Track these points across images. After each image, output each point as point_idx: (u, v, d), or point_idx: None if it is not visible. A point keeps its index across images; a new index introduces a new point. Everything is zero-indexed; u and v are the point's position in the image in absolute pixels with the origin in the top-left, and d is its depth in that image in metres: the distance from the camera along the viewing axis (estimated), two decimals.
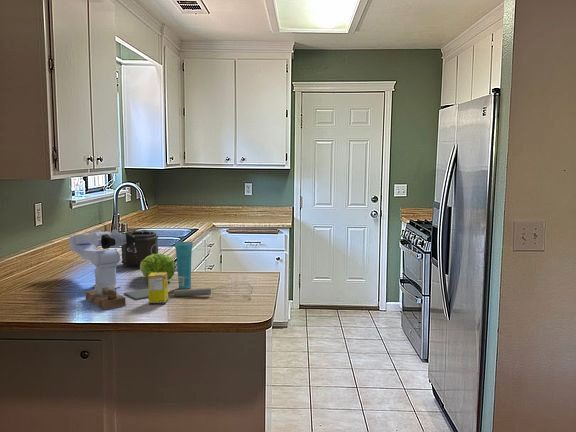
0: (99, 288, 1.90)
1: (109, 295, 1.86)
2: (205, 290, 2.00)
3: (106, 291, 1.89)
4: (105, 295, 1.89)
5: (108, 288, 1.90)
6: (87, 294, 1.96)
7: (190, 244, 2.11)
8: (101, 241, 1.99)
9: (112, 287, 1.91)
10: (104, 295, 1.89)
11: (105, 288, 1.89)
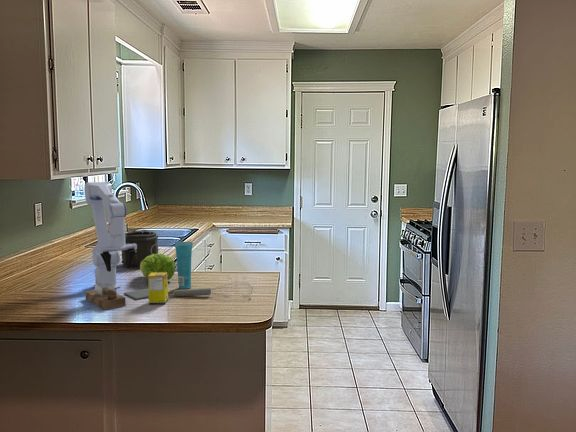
0: (99, 288, 1.90)
1: (109, 295, 1.86)
2: (205, 290, 2.00)
3: (106, 291, 1.89)
4: (105, 295, 1.89)
5: (108, 288, 1.90)
6: (87, 294, 1.96)
7: (190, 244, 2.11)
8: (102, 254, 1.95)
9: (112, 287, 1.91)
10: (104, 295, 1.89)
11: (105, 288, 1.89)
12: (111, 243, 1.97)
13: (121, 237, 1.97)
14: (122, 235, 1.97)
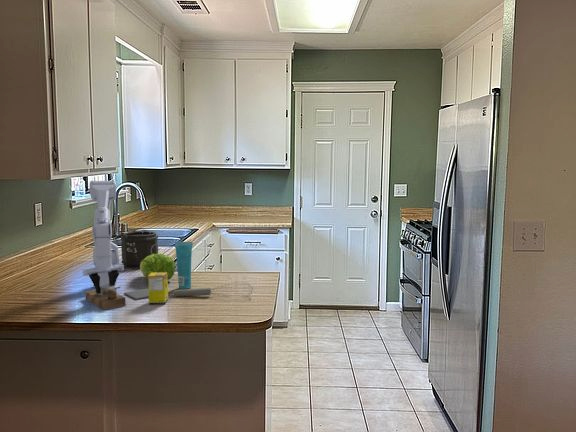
0: None
1: (109, 295, 1.86)
2: (205, 290, 2.00)
3: (106, 291, 1.89)
4: (105, 295, 1.89)
5: (108, 288, 1.90)
6: (87, 294, 1.96)
7: (190, 244, 2.11)
8: (90, 275, 1.89)
9: (112, 287, 1.91)
10: (104, 295, 1.89)
11: (105, 288, 1.89)
12: (97, 265, 1.89)
13: (107, 258, 1.89)
14: (108, 256, 1.90)
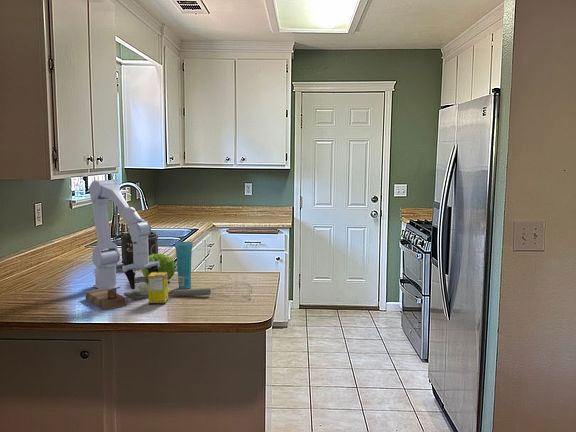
0: (137, 287, 2.01)
1: (109, 295, 1.86)
2: (205, 290, 2.00)
3: (144, 290, 2.00)
4: (143, 294, 2.00)
5: (146, 287, 2.01)
6: (87, 294, 1.96)
7: (190, 244, 2.11)
8: (126, 272, 1.98)
9: None
10: (142, 294, 2.00)
11: (143, 287, 2.00)
12: (135, 261, 2.00)
13: (145, 255, 2.00)
14: (146, 253, 2.00)
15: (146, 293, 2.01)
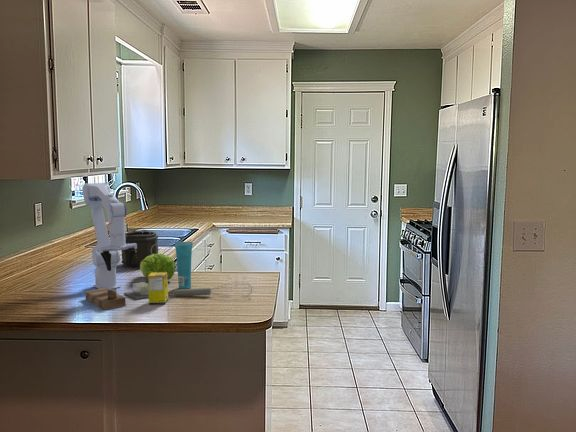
0: (137, 287, 2.01)
1: (109, 295, 1.86)
2: (205, 290, 2.00)
3: (144, 290, 2.00)
4: (143, 294, 2.00)
5: (146, 287, 2.01)
6: (87, 294, 1.96)
7: (190, 244, 2.11)
8: (102, 253, 1.97)
9: None
10: (142, 294, 2.00)
11: (143, 287, 2.00)
12: (111, 242, 1.98)
13: (121, 236, 1.98)
14: (122, 235, 1.99)
15: (146, 293, 2.01)
